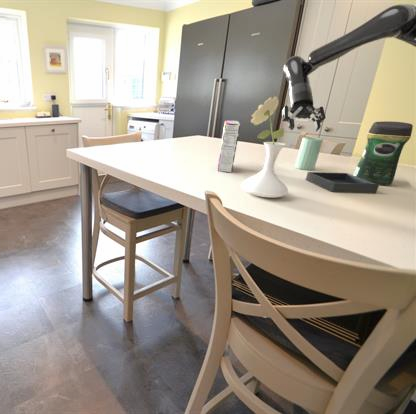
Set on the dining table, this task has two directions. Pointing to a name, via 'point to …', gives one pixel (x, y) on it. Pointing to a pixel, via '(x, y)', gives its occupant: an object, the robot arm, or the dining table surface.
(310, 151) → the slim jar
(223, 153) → the candy bar box
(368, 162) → the coffee jar
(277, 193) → the flower in vase
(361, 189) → the dark square tray
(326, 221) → the dining table surface
